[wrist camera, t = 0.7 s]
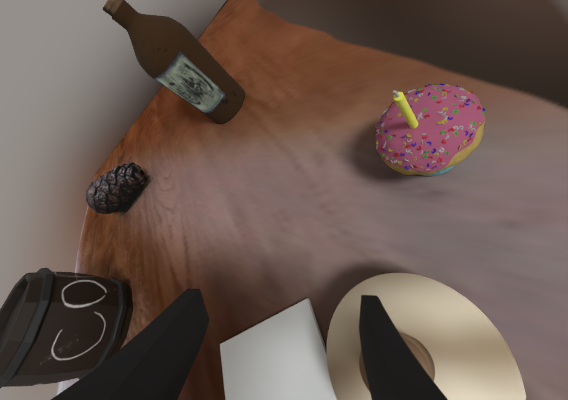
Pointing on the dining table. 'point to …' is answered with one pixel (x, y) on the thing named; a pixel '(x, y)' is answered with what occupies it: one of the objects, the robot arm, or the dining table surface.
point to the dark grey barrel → (61, 326)
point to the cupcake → (429, 129)
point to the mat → (278, 359)
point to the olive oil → (179, 61)
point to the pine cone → (117, 189)
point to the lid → (425, 340)
